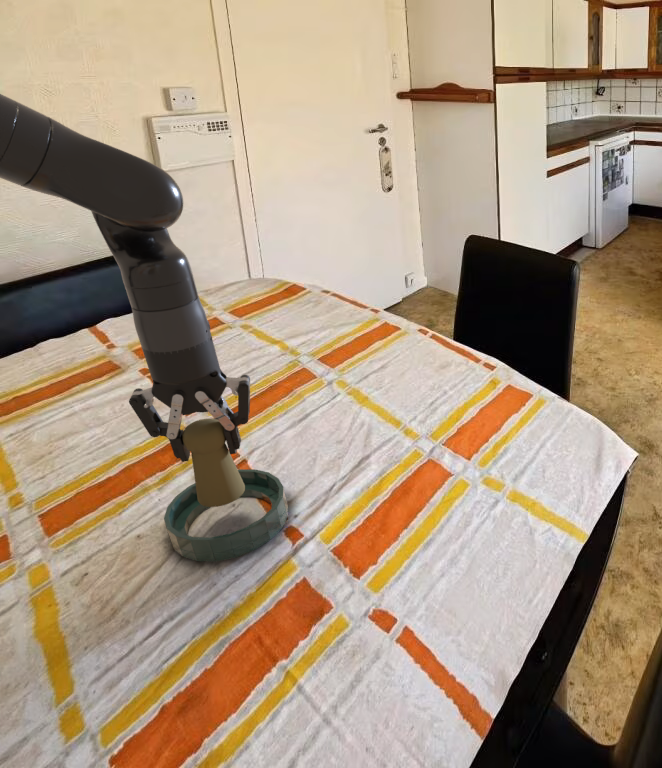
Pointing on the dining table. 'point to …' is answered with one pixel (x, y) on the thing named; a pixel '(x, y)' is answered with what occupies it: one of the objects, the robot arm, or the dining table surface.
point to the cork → (212, 463)
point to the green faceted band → (236, 542)
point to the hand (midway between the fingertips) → (210, 453)
